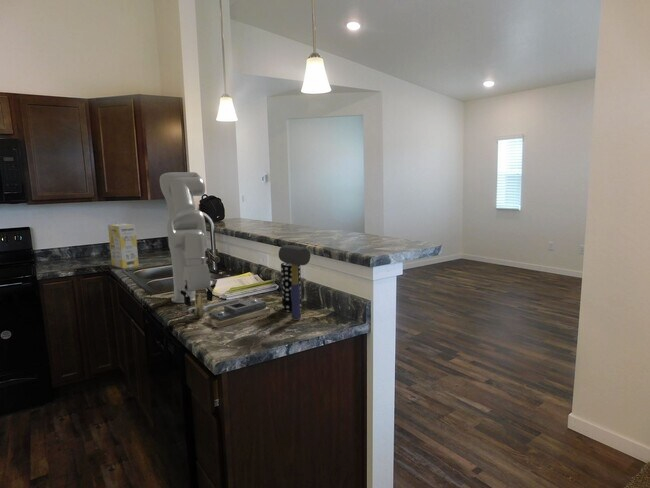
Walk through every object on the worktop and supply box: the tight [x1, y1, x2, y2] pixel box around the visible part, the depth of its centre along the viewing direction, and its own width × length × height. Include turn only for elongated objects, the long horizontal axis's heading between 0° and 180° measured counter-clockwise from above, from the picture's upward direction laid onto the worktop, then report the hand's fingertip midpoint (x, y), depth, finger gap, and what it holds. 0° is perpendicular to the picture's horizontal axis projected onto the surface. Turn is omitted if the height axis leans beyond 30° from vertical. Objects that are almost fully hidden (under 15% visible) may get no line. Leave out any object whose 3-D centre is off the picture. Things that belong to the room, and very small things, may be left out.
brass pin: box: [194, 292, 204, 320], centre depth 175 cm, size 3×3×10 cm
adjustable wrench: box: [187, 297, 240, 315], centre depth 190 cm, size 25×6×2 cm, turn 133°
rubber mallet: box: [278, 244, 311, 321], centre depth 168 cm, size 12×8×30 cm, turn 45°
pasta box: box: [107, 223, 140, 269], centre depth 289 cm, size 18×10×28 cm, turn 47°
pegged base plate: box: [208, 297, 267, 321], centre depth 174 cm, size 8×22×4 cm, turn 135°
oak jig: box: [204, 306, 271, 329], centre depth 175 cm, size 10×25×2 cm, turn 135°
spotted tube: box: [280, 262, 303, 313], centre depth 183 cm, size 8×8×20 cm
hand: (199, 303), depth 174 cm, fingers open, 9 cm apart
